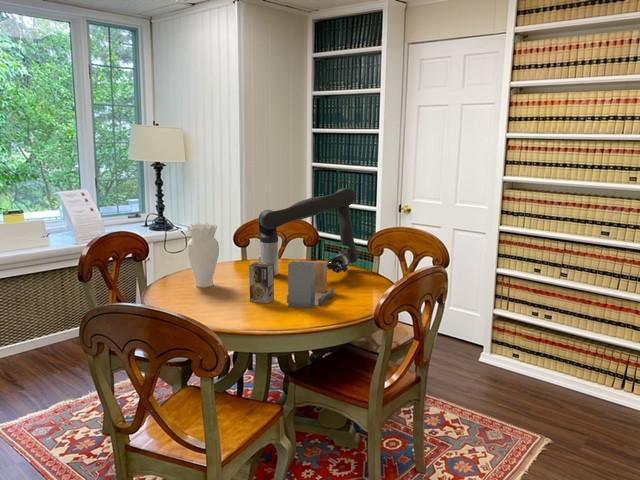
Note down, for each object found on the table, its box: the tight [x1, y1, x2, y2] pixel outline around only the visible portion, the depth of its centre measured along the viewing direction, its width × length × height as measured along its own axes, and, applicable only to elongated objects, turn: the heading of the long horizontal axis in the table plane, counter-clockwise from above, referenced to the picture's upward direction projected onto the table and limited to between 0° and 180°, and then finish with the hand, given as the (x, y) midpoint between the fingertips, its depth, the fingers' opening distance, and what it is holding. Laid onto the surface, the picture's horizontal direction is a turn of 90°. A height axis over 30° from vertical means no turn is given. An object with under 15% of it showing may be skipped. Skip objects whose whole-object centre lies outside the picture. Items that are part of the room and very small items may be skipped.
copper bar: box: [315, 260, 328, 293], centre depth 245 cm, size 4×4×14 cm
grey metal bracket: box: [286, 260, 335, 310], centre depth 231 cm, size 15×23×18 cm
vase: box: [186, 222, 220, 288], centre depth 253 cm, size 15×15×29 cm
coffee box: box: [248, 261, 275, 304], centre depth 231 cm, size 9×6×16 cm
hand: (328, 270), depth 255 cm, fingers open, 8 cm apart
